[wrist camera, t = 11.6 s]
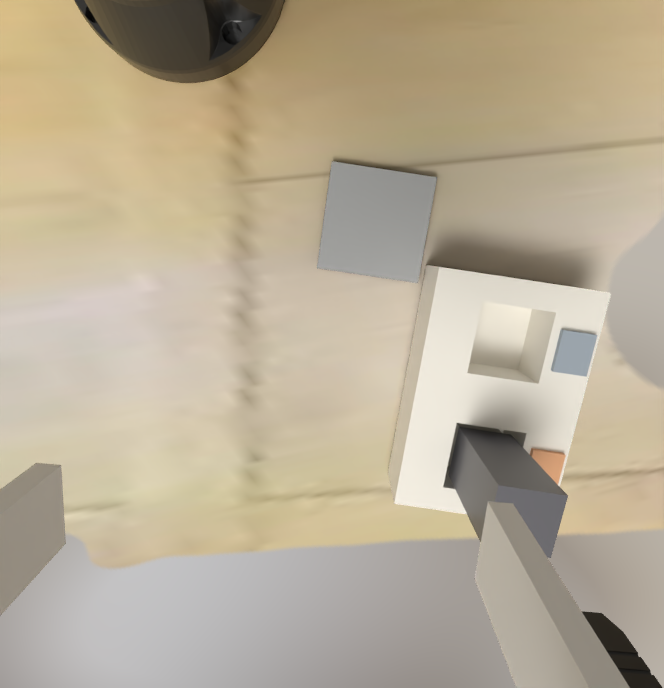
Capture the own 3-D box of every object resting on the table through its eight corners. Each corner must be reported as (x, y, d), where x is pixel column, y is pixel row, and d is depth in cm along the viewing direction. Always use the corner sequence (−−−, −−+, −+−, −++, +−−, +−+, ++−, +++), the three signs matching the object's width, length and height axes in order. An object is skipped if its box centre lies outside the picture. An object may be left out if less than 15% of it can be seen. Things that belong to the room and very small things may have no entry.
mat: (332, 162, 35) (331, 161, 35) (435, 178, 35) (437, 177, 35) (317, 267, 37) (317, 268, 36) (416, 282, 37) (417, 283, 36)
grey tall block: (449, 413, 38) (498, 485, 26) (497, 420, 38) (567, 495, 26) (440, 457, 39) (483, 547, 27) (487, 465, 39) (550, 557, 27)
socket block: (426, 264, 37) (440, 266, 31) (575, 287, 37) (614, 293, 32) (387, 472, 40) (394, 506, 35) (524, 492, 40) (551, 529, 35)
